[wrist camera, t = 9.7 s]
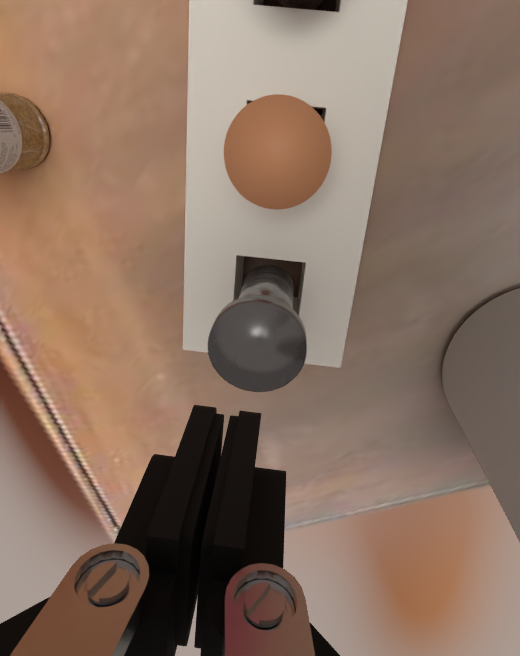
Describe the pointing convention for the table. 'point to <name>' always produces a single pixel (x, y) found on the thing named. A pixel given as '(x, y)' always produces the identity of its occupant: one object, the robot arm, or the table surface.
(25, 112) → the sprinkles bottle
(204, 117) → the block
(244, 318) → the grey plug
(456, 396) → the cylinder vase
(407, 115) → the table surface
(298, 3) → the grey plug
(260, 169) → the rust plug
